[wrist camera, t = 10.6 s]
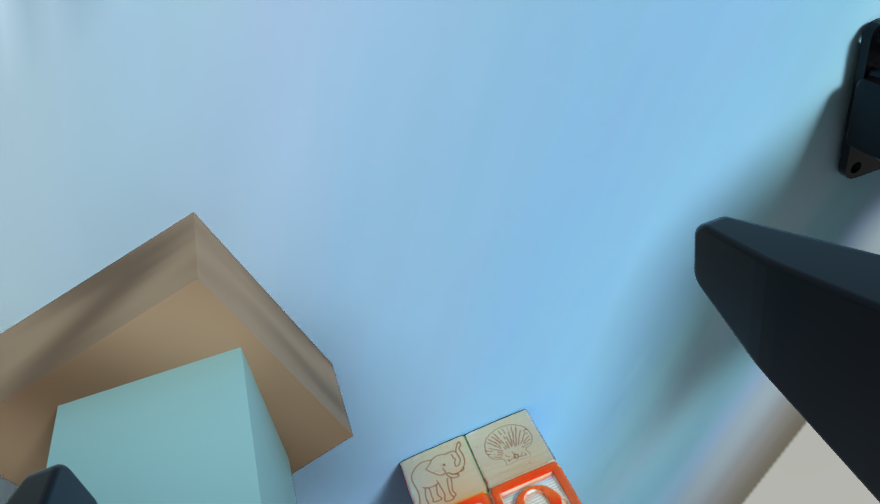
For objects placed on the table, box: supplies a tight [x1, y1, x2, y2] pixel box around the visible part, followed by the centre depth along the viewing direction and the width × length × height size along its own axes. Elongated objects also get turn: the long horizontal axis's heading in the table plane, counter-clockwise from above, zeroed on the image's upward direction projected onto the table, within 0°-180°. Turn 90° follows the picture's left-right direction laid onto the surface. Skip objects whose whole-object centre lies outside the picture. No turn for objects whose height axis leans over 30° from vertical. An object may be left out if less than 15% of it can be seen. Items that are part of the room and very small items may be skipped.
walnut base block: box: [0, 212, 353, 486], centre depth 22 cm, size 8×8×4 cm
